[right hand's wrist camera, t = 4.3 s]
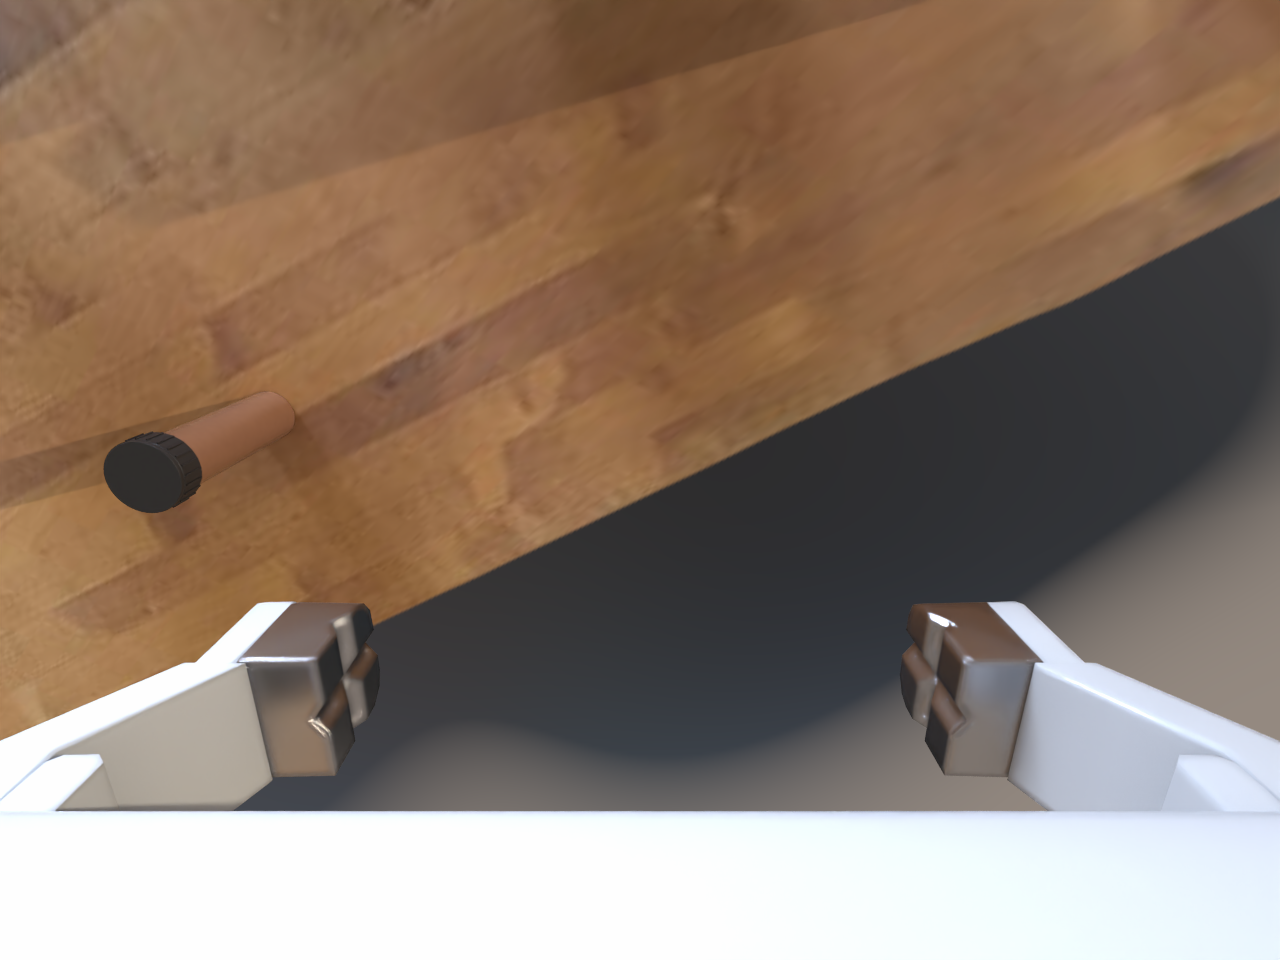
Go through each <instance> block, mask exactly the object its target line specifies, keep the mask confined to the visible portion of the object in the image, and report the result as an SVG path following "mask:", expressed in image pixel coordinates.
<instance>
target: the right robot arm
mask: <svg viewBox="0 0 1280 960" xmlns="http://www.w3.org/2000/svg"><path fill="white" fill-rule="evenodd" d="M906 630H907V631H908V633H909V634H910V636H911V637H912V639H913V641H914V642H915V643H914V644H913V645H912V646H911V647H910V648H909V649H908V650H907V651H906V652H905V653H904V654H903V655H902V663H901V671H900V679H901V689H902V695H903V699H904V702H905V705H906V707H907V709H908V711H909V713H910V715H911V717H912V719H914V720H915V721H917V722H918V723H920V724H921V725H923V726H924V727H926V728H927V731H926V737H925V742H926V744H927V745H928V747H929V749H930V751H931V752H932V754H933V756H934V758H935V759H936V761H937V763H938V765H939V766H940V768H941V770H942V772H943V773H944V775H948V776H985V777H1008V779H1007V780H1008V781H1009V782H1011V783H1012V784H1013V785H1015V786H1016V787H1017V788H1019V789H1020V790H1021V791H1022V792H1024V793H1025V794H1026V795H1028V796H1029V797H1030V798H1032V799H1033V800H1034V801H1036V802H1037V803H1038V804H1039V805H1041V806H1042V807H1043V808H1045V809H1046V810H1047V811H233V810H234V809H236V808H237V807H238V806H240V805H241V804H242V803H243V802H245V801H246V800H247V799H249V798H250V797H251V796H252V795H254V794H255V793H256V792H258V791H259V790H260V789H262V788H263V787H264V786H266V785H267V784H268V783H269V782H271V781H272V777H294V776H329V775H336V773H337V772H338V770H339V768H340V767H341V765H342V763H343V761H344V759H345V758H346V756H347V754H348V752H349V751H350V749H351V747H352V745H353V744H354V742H355V737H354V731H353V728H354V727H356V726H357V725H359V724H360V723H362V722H363V721H365V720H367V719H368V717H369V715H370V713H371V711H372V709H373V707H374V705H375V702H376V698H377V694H378V689H379V679H380V669H379V661H378V655H377V654H376V653H375V652H374V651H373V650H372V649H371V648H370V647H369V646H368V645H367V644H366V643H365V642H366V641H367V639H368V637H369V636H370V634H371V633H372V631H373V624H372V619H371V613H370V610H369V609H368V608H367V606H366V605H365V604H364V603H312V602H299V603H296V602H265V603H258V604H256V605H255V606H254V607H253V608H252V609H251V610H250V611H249V612H248V613H247V614H246V615H245V616H244V617H243V618H242V619H241V620H240V621H239V622H238V623H237V624H235V625H234V626H233V627H232V628H231V629H230V630H229V631H228V632H227V633H226V634H225V635H224V636H223V637H222V638H221V639H220V640H219V641H218V642H217V643H216V644H215V645H213V646H212V647H211V648H210V649H209V650H208V651H207V652H206V653H205V654H204V655H203V656H202V657H201V658H200V659H199V660H198V661H197V662H196V663H183V664H180V665H178V666H176V667H173V668H171V669H169V670H166V671H164V672H162V673H159V674H157V675H154V676H152V677H150V678H147V679H145V680H143V681H140V682H138V683H136V684H133V685H131V686H129V687H126V688H124V689H122V690H119V691H117V692H114V693H112V694H110V695H107V696H105V697H103V698H100V699H98V700H96V701H93V702H91V703H89V704H86V705H84V706H82V707H79V708H77V709H74V710H72V711H70V712H67V713H65V714H63V715H60V716H58V717H56V718H53V719H51V720H49V721H46V722H44V723H42V724H39V725H37V726H34V727H32V728H30V729H27V730H25V731H23V732H20V733H18V734H16V735H13V736H11V737H9V738H6V739H4V740H2V741H0V960H1280V741H1278V740H1276V739H1273V738H1271V737H1269V736H1266V735H1264V734H1262V733H1259V732H1257V731H1255V730H1252V729H1250V728H1247V727H1245V726H1243V725H1240V724H1238V723H1236V722H1233V721H1231V720H1229V719H1226V718H1224V717H1222V716H1219V715H1217V714H1215V713H1212V712H1210V711H1208V710H1205V709H1203V708H1201V707H1198V706H1196V705H1194V704H1191V703H1189V702H1186V701H1184V700H1182V699H1179V698H1177V697H1175V696H1172V695H1170V694H1168V693H1165V692H1163V691H1161V690H1158V689H1156V688H1154V687H1151V686H1149V685H1147V684H1144V683H1142V682H1139V681H1137V680H1135V679H1133V678H1130V677H1128V676H1125V675H1123V674H1121V673H1118V672H1116V671H1114V670H1111V669H1109V668H1107V667H1104V666H1102V665H1100V664H1097V663H1084V662H1083V661H1082V660H1081V659H1080V658H1079V657H1078V656H1077V655H1076V654H1075V653H1074V652H1073V651H1072V650H1071V649H1070V648H1069V647H1068V646H1067V645H1066V644H1064V643H1063V642H1062V641H1061V640H1060V639H1059V638H1058V637H1057V636H1056V635H1055V634H1054V633H1053V632H1052V631H1051V630H1050V629H1049V628H1048V627H1047V626H1046V625H1045V624H1044V623H1043V622H1042V621H1040V620H1039V619H1038V618H1037V617H1036V616H1035V615H1034V614H1033V613H1032V612H1031V611H1030V610H1029V609H1028V608H1027V607H1026V606H1025V605H1024V604H1021V603H1018V602H1015V601H1013V602H989V603H987V602H981V603H942V604H917V605H913V607H912V609H911V611H910V614H909V617H908V623H907V629H906Z"/></svg>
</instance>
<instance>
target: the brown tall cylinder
mask: <svg viewBox="0 0 1280 960" xmlns="http://www.w3.org/2000/svg"><path fill="white" fill-rule="evenodd" d="M294 423H295V415H294V411H293V409H292V407H291V405H290V404H289V403H288V401H287V400H286V399H284V398H283V397H282V396H280V395H278V394H276V393H273V392H259V393H256V394H254V395H252V396H249V397H247V398H244V399H242V400H240V401H237V402H235V403H233V404H230V405H228V406H225V407H223V408H221V409H218V410H216V411H213V412H211V413H209V414H206V415H204V416H201V417H199V418H197V419H194V420H192V421H190V422H187V423H185V424H182V425H180V426H178V427H175V428H173V429H170V430H168V431H166V432H164V433H166V434H169V435H173V436H175V437H177V438H178V439H180V440H182V441H184V442H185V443H186V444H187V445H188V446H189V447H190V448H191V449H192V450H193V451H194V453H195V454H196V456H197V457H198V459H199V462H200V465H201V467H202V468H201V469H202V480H201V483H200V484H202V483H203V482H205V481H207V480H209V479H210V478H212V477H214V476H216V475H217V474H219V473H221V472H223V471H224V470H226V469H228V468H230V467H231V466H233V465H235V464H237V463H238V462H240V461H242V460H244V459H245V458H247V457H249V456H251V455H252V454H254V453H256V452H258V451H259V450H261V449H263V448H265V447H266V446H268V445H270V444H272V443H273V442H275V441H277V440H279V439H280V438H282V437H284V436H286V435H287V434H288V433H289V432H290V431H291V430H292V428H293V426H294Z"/></svg>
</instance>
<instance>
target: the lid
mask: <svg viewBox="0 0 1280 960" xmlns="http://www.w3.org/2000/svg"><path fill="white" fill-rule="evenodd" d="M201 468H202V467H201V465H200V462H199V459H198V457H197V456H196V454H195V453H194V451H193V450H192V449H191V448H190V447H189V446H188V445H187V444H186V443H185V442H184V441H182V440H180V439H178V438H177V437H175V436H173V435H169V434H166V433H164V432H161V433H159V432H149V433H147V434H144V433H143V434H140V435H138V436H135V437H133V438H130V439H128V440H125V442H123V443H121V444H118V445H117V446H115V447H114V448H113V449H112V450H111V451H110V452H109V453H108V455H107V457H106V459H105V462H104V476H105V479H106V482H107V484H108V486H109V488H110V490H111V491H112V492H113V494H114V495H115V496H116V497H117V498H118V499H119V500H120V501H121V502H123V503H124V504H126V505H127V506H129V507H131V508H133V509H135V510H138V511H141V512H146V513H158V512H163V511H166V510H168V509H170V508H171V507H173V508H174V507H176V506H177V505H179V504H181V503H182V502H184V501H186V500H187V499H189V497H191V496H192V495H194V494H196V491H197V489H198V488H199V487H200V486H201V485H200V483H201V480H202V469H201Z"/></svg>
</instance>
